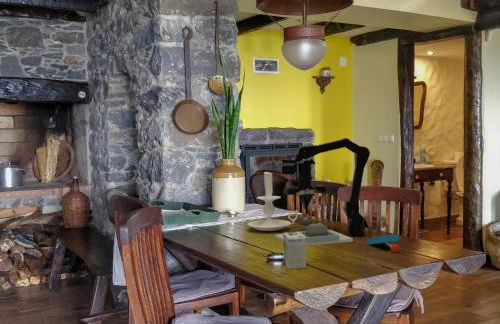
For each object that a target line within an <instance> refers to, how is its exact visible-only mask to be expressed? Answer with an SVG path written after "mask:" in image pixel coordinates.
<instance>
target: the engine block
mask: <svg viewBox="0 0 500 324" xmlns="http://www.w3.org/2000/svg"><path fill="white" fill-rule="evenodd" d="M304 226H305V227H304V229H305V236H307V237H319V236H328V230H329V229H328V226H326V225H324V224H323V223H322V222H321V223H320V222H319V223H312V224H309V225H304Z"/></svg>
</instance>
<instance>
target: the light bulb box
mask: <svg viewBox="0 0 500 324" xmlns="http://www.w3.org/2000/svg"><path fill="white" fill-rule="evenodd" d="M282 234H283V241H282V243H283V262H284V264H285V266H286V268H287V269H289V270H291V269H306V268H307V250H306V249H307V248H306V247H307V246H306V237H305V236H304V235H303V234H302V233H301V232H300V231H294V232H293V231H292V232H290V231H289V232H283V233H282Z"/></svg>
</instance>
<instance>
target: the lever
mask: <svg viewBox="0 0 500 324" xmlns="http://www.w3.org/2000/svg"><path fill="white" fill-rule="evenodd" d="M394 242H400V236H399V234H390V235H380V236H376V237H371V238H366V244H367V245H368V246H371V245H380V244H385V245H386V246H388V247H389V248H390V249H389V250H390V251H391V253H393V254H394V253H395V254H397V253H399V252H400V250H401V249H400V246H399V245H398V244H396V243H394ZM392 243H394V244H392Z"/></svg>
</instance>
